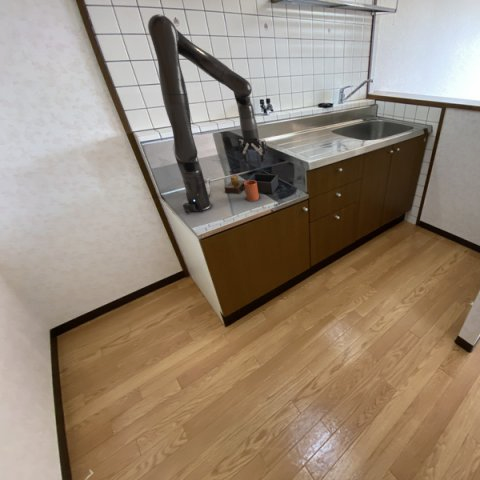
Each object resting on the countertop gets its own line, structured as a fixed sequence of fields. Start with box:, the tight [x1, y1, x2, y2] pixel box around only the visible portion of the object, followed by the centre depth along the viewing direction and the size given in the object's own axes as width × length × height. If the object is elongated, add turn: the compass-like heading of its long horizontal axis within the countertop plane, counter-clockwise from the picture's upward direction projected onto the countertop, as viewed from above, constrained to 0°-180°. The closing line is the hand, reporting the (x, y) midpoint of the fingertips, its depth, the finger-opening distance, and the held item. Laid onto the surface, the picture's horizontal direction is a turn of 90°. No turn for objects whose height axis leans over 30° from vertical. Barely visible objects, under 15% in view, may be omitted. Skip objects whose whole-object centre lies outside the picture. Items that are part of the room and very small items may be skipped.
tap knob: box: [229, 174, 239, 185], centre depth 152 cm, size 4×4×5 cm
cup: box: [244, 180, 260, 202], centre depth 142 cm, size 6×6×9 cm
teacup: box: [204, 178, 212, 196], centre depth 146 cm, size 14×11×8 cm
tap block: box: [224, 179, 247, 194], centre depth 154 cm, size 11×8×3 cm
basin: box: [246, 172, 280, 195], centre depth 153 cm, size 12×14×6 cm
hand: (255, 161), depth 136 cm, fingers open, 8 cm apart
